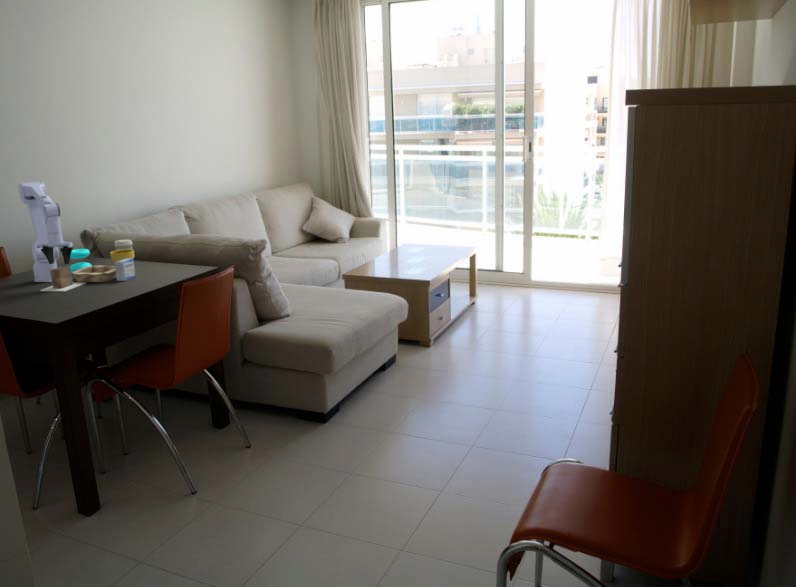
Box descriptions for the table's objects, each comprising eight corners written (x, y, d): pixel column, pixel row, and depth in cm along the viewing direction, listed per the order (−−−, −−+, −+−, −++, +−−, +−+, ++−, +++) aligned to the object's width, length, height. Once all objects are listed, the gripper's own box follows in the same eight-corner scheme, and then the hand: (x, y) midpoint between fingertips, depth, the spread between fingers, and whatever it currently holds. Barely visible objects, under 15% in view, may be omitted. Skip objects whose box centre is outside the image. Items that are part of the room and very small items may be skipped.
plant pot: (110, 274, 315) (107, 254, 313) (116, 270, 325) (113, 249, 322) (134, 273, 317) (131, 252, 314) (138, 268, 326) (135, 248, 324)
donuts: (94, 249, 326) (75, 253, 318) (97, 269, 328) (78, 273, 320) (80, 247, 331) (61, 251, 323) (84, 267, 333) (65, 272, 325)
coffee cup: (119, 263, 340) (116, 239, 337) (137, 262, 341) (134, 238, 338) (114, 267, 332) (111, 242, 329) (133, 265, 333) (129, 241, 330)
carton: (67, 282, 302) (66, 273, 301) (92, 274, 319) (90, 265, 317) (106, 283, 298) (104, 274, 297) (128, 274, 314) (127, 265, 313)
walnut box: (52, 288, 291) (49, 269, 289) (64, 284, 298) (60, 266, 296) (62, 288, 290) (59, 270, 288) (73, 284, 297) (70, 266, 295)
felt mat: (40, 291, 289) (39, 290, 289) (62, 283, 302) (62, 282, 302) (64, 291, 287) (64, 290, 287) (86, 283, 300) (85, 282, 300)
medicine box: (125, 281, 301) (123, 262, 299) (116, 281, 302) (114, 261, 300) (136, 277, 309) (133, 258, 306) (127, 276, 310) (124, 258, 307)
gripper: (32, 234, 286) (38, 265, 290) (62, 233, 283) (68, 265, 287) (44, 231, 293) (49, 262, 296) (73, 231, 290) (79, 262, 293)
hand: (59, 263), depth 292 cm, fingers open, 7 cm apart
